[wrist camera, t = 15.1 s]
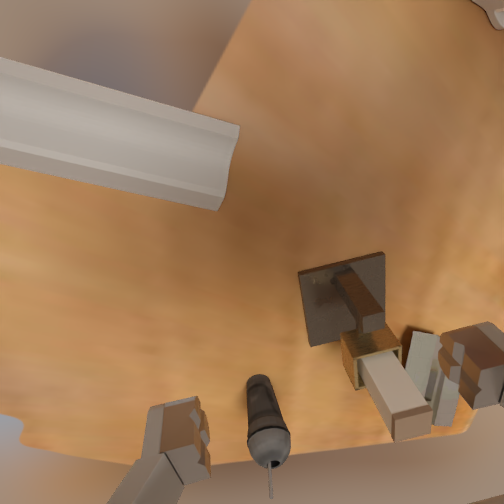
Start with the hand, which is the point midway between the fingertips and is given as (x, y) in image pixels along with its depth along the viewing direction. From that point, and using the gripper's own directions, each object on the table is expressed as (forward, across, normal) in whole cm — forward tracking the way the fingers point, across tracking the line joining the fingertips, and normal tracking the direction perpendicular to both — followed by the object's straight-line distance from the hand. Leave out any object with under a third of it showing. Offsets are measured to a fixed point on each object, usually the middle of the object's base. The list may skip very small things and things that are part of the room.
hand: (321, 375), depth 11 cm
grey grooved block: (+38, -28, +50) cm, 68 cm away
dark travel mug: (+37, +5, +45) cm, 59 cm away
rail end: (+28, -13, +32) cm, 45 cm away
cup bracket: (+37, -13, +30) cm, 49 cm away
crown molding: (+38, +15, -4) cm, 41 cm away
